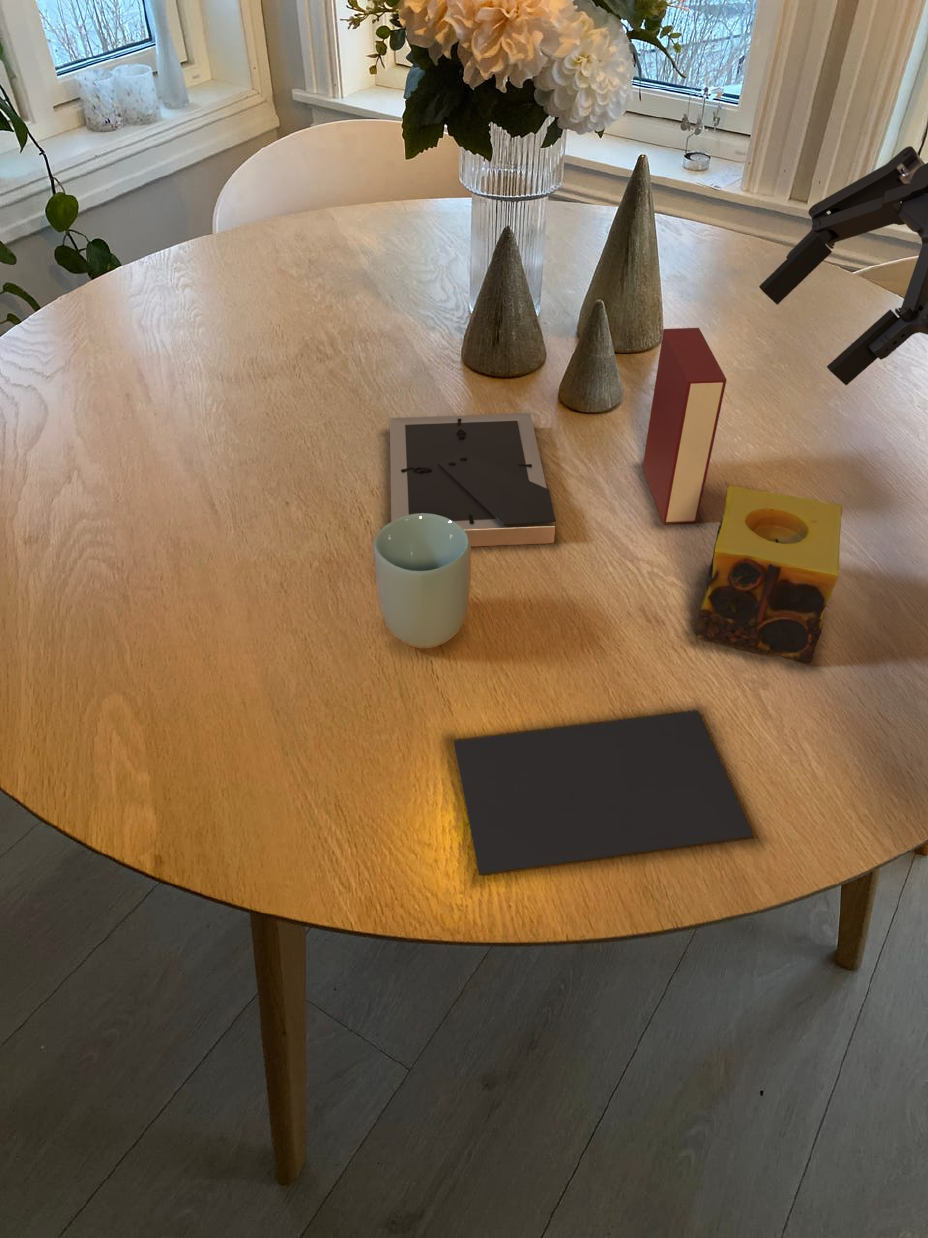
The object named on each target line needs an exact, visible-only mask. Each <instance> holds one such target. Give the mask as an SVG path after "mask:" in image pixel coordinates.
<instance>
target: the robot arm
mask: <svg viewBox="0 0 928 1238" xmlns="http://www.w3.org/2000/svg"><path fill="white" fill-rule="evenodd" d="M807 212H808V213H807V214H808V215H809V217H810V218H811V222H812V225H811V229H810V231H809V232H808V233H807V234H806V235H805V236H804V237H802V239H801V240H800V241H799V242H797V244H796V245H794V247H793V248H792V249H791V250H790V251H789V252H788V253H787V255H786V256H785V258H786V259H784V261H783V262H782V263H781V264H780V265H779V266H778V267H777V268H776V269H775V270H773V272H772V273H770V275H769V276H768V277H767V278H766V279H765V280H764V281H763V282H762V283H761V284H760V285H759V286H758V288H759V289H760V290H761V291H762V292H763V293H764V294H765V295H766V296H767V297H768V298H769V299H770V300H771V301H772V302H773V303H774V304H775V305H777V306H778V305H779V304H780V303H781V302H782V301H784V299H786V298H787V297H788V296H789V294H791V293H792V292H793V291H794V290H795V289H796V288H797V287H798V286H799V285H800V284H801V283H802V282H803V281H804V280H805V279H806V278H807V277H808V276H809V275H810V274H811V273H812V272H813V271H814V270H815V269H817V268H818V266H820V264H822V262H824V261H825V260H826V259H827V258H828V257H829V256H830V255H831V254H832V253H833V251H832V250H833V249H835V243H839V242H842V241H845V240H847V239H850V238H853V237H857V236H859V235H863V234H866V233H870V232H873V231H876V230H879V229H881V228H886V227H888V226H891V225H897V226H904V225H906V227H907V228H908V229H909V230H911V231H912V232H913V233H916V234H917V236H918V237H919V238H920V239H921V248H920V251H919V254H918V257H917V260H916V262H915V266H914V268H913V271H912V274H911V277H910V280H909V283H908V286H907V289H906V292H905V295H904V298H903V301H902V303H901V307H898V308H897V307H895V308H894V311H893V310H892V309H891V308H890V309H889V310H888V311H886V312H885V313H884V314H882V316H881V317H880V318H879V319H878V320H876V322H874V323H873V324H872V325H871V326H869V327H868V328H867V329H866V330H865V331H864V332H863V333H862V334H861V335H860V336H859V337H858V338H856V339H855V340H854V341H853V342H852V343H851V344H850V345H849V346H848V347H846V348H845V349H844V350H843V351H842V352H841V353H840V354H838V356H836V358H834V359H833V360H832V361H831V362H830V363H829V364H828V365H827V366H826V368H827V369H828V371H829V372H830V373H831V374H832V375H834V376H835V377H836V378H837V379H838V381H840V382H841V383H842V384H844V385H845V386H848V385H849V384H850V383H851V382H852V381H853V380H855V379H856V378H857V377H858V376H859V375H860V374H862V373H863V372H864V371H865V370H866V369H867V368H868V367H870V365H872V364H873V363H874V362H875V361H876V360H877V359H879V360H881V361H882V360H884V359H886V358H888V357H889V356H890V355H891V354H892V353H893V352H895V351H896V350H897V349H898V348H899V347H900V346H901V345H903V344H904V343H905V342H906V341H907V340H908V339H909V338H911V337H912V336H914V335H915V334H923V335H927V336H928V162H926V163H925V162H924V160H923V159H922V158H921V156H920V155H919V154H918V152H917V151H916V150H915V148H914V147H913V146H910V145H909V146H906V147H904V148H903V149H902V150H901V151H899V152H898V153H897V154H895V156H894V157H892V158H891V159H890V160H889V161H888V162H887V163H885V164H884V165H882V166H880V167H879V168H878V167H877V168H876V169H875V170H873V171H871V172H870V173H868V174H866V175H864V176H862V177H861V178H859V179H857V180H855V181H854V182H852V183H849V185H846V186H845V187H843V188H841V189H840V190H837V191H836V192H834V193H832V194H831V195H829V196H827V197H825V198H824V199H821V200H820V201H818V202H817V203H814V204H813V205H811V207H810V208H809V209H808V211H807ZM828 212H829V213H828Z"/></svg>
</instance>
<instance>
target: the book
mask: <svg viewBox="0 0 928 1238" xmlns="http://www.w3.org/2000/svg"><path fill="white" fill-rule="evenodd" d="M661 336H662V337H661V342H660V350H659V356H658V362H657V369H656V376H655V383H654V388H653V396H652V401H651V402H652V403H651V408H650V415H649V422H648V427H647V428H648V429H647V436H646V441H645V449H644V455H643V462H642V470H643V473H644V475H645V478H646V481H647V484H648V487H649V489H650V492H651V495H652V498H653V501H654V504H655V506H656V510H657V512H658V515H659V517H660V518H659V519H660V520H661V523H662V525H673V524H674V525H675V524H696V523H698V520H699V514H700V510H701V504H702V500H703V495H704V491H705V486H706V480H707V475H708V472H709V466H710V462H711V457H712V451H713V447H714V443H715V439H716V438H715V437H716V433H717V428H718V423H719V418H720V413H721V409H722V404H723V399H724V396H725V395H724V394H725V389H726V384H727V380H728V379H727V378H726V375H725V374H724V372H723V369H722V368H721V366H720V364H719V363H718V360H717V359H716V357H715V354H714V353H713V351H712V349H711V347H710V345H709V344H708V342H707V340H706V338H705V336H704V334H703V333H702V331H701V329H700V327H676V328H663V329H662V335H661Z"/></svg>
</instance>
